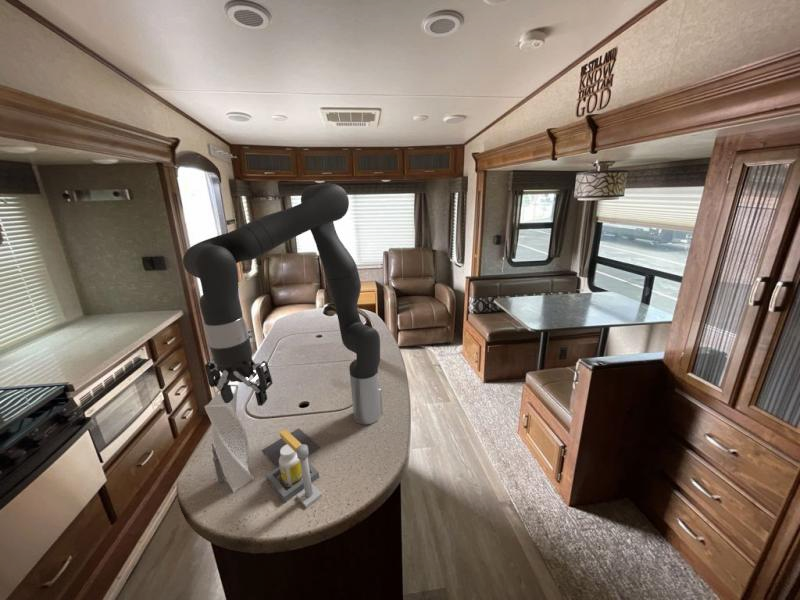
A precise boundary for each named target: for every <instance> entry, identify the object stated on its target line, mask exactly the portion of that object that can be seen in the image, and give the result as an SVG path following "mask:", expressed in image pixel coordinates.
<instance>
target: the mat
mask: <svg viewBox="0 0 800 600" xmlns="http://www.w3.org/2000/svg"><path fill="white" fill-rule="evenodd" d="M289 433H290V434H291V435H292V436H294V437H295V438H296V439H297V440H298V441H299V442H300V443H301V444H302V445H303V444H305V445H307V446H308V452H309V455H311V454H312V453H314V452H316V451H317V450H319V449H320V448H321V447H320V445H319V444H318V443H316V442H315V441H314V440H313V439H312V438H311V437H309V436H308V434H306V433H305V432H304V431H303V430H302V429H300V428H297V429H295V430H293V431H292V432H289ZM285 445H287V443H286V442H285V441H284V440H283V439H282V438H280V439H278V440H276V441H275V442H273V443H271V444H269V445H268V446H266V447H264V448H262V452H263V453H264V454H265V455H266V456H267V457H268V458H269V460H270V461H271V462H272V464H273V465H275V467H276V468H277V467H279V458H280V456H281V455H280V450H281V448H282V447H283V446H285ZM309 455H308V456H309Z"/></svg>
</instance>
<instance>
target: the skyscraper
mask: <svg viewBox="0 0 800 600" xmlns="http://www.w3.org/2000/svg"><path fill="white" fill-rule="evenodd" d="M229 385H230V386H231V387H235V390H234V392H232V393H233V399H232V400H231V401H230V402H229V403H224V401H223V399H222V396H221V393H219V392H220V390H218V389H217V390H216V392H215V394H214V397H213V398H212V399H211V400H210V401H209V403H207V404H206V405H205V406H204V409H205V411H206V414H207V416H208V418H209V420H210V423H211V425H212V427H211V428H212V438H213V442H212V443H211V447H212V449H211V451H212V455H213V457H212V461H213V463H214V464H213V465H214V470H215V475H216V478H217V481H216V482H217V484H218V485H219V487H220V489H221V490H222V491H223V492H224V494H225V495H226V497H227V498H228V497H230V496H231V495H233V494H235V493H236V492H238V491H239V490H241V489H242V488H244V487H246V486H247V485H248V484H250V483H251V482H252V481H255V477H254V476H253V474H252V473H251V472H250V470H249V467H248V464H249V440H248V436H247V432H246V429H245V428H244V425H243V423H242V422H241V420H240V419H239V417H238V414H237V402H238V390H239V385H238V384H229Z"/></svg>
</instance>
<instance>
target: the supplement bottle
mask: <svg viewBox="0 0 800 600" xmlns="http://www.w3.org/2000/svg"><path fill="white" fill-rule="evenodd" d="M280 455H281V456H280V458H279V466H280V472H281V475H280V476H281V481H282V483H283V485H284V486H285V487H288V488H291V487H292V486H294V485H295V484H297V483H298V482H299V481H301V480H302V479H303V477H302V471H301V465H300V459H298V457H297V453H296V452H295V451H294V450H293V449H292V448H291V447H290V446H289V445H288V444H287V445H285V446H283V447H282V448H281V450H280Z"/></svg>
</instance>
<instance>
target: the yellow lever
mask: <svg viewBox="0 0 800 600" xmlns="http://www.w3.org/2000/svg"><path fill="white" fill-rule="evenodd" d="M290 433H291V432H290V431H288V430H287V429H286V428H285V429H283V430H281V431H279V437H280V439H281V438H282V439H283V440H284V441H285V442H286V443H287V444H288V445H289V446H290V447H291V448H292V449H293V450H294V451H295V452H296V453H297V457H298V459H300V460H303V459H306V458H307V457H309V452H308V446H307V445H305V444H303V445H302V444H301V443H300V442H299V441H298V440H297V439H296V438H295V437H294V436H292V435H291V434H290Z"/></svg>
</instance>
